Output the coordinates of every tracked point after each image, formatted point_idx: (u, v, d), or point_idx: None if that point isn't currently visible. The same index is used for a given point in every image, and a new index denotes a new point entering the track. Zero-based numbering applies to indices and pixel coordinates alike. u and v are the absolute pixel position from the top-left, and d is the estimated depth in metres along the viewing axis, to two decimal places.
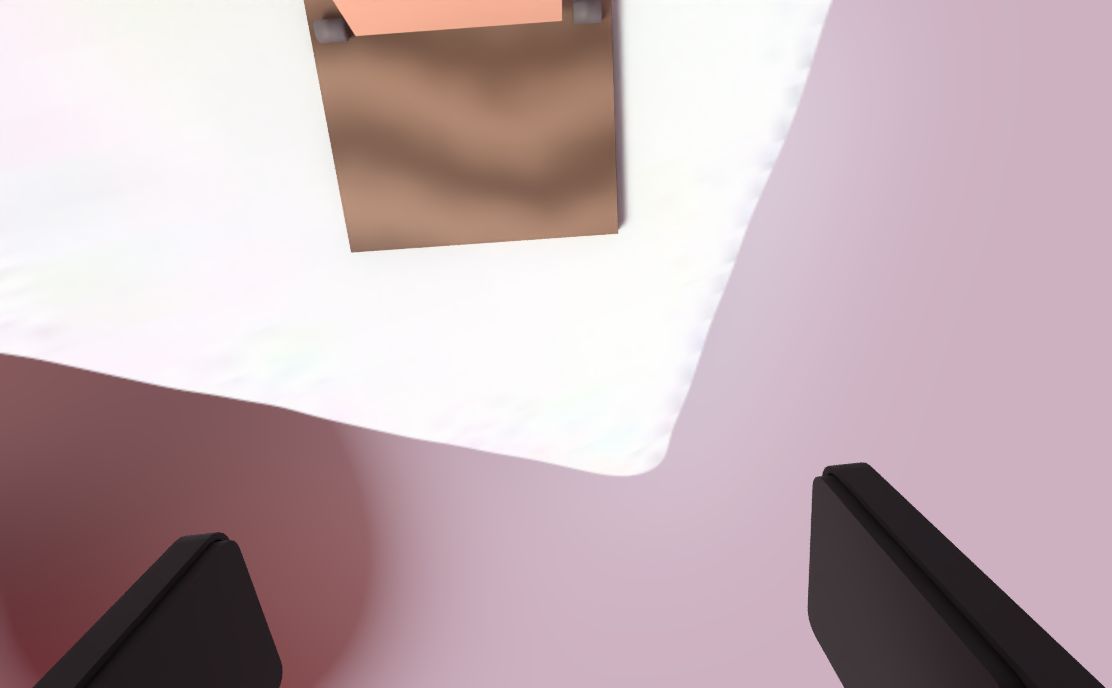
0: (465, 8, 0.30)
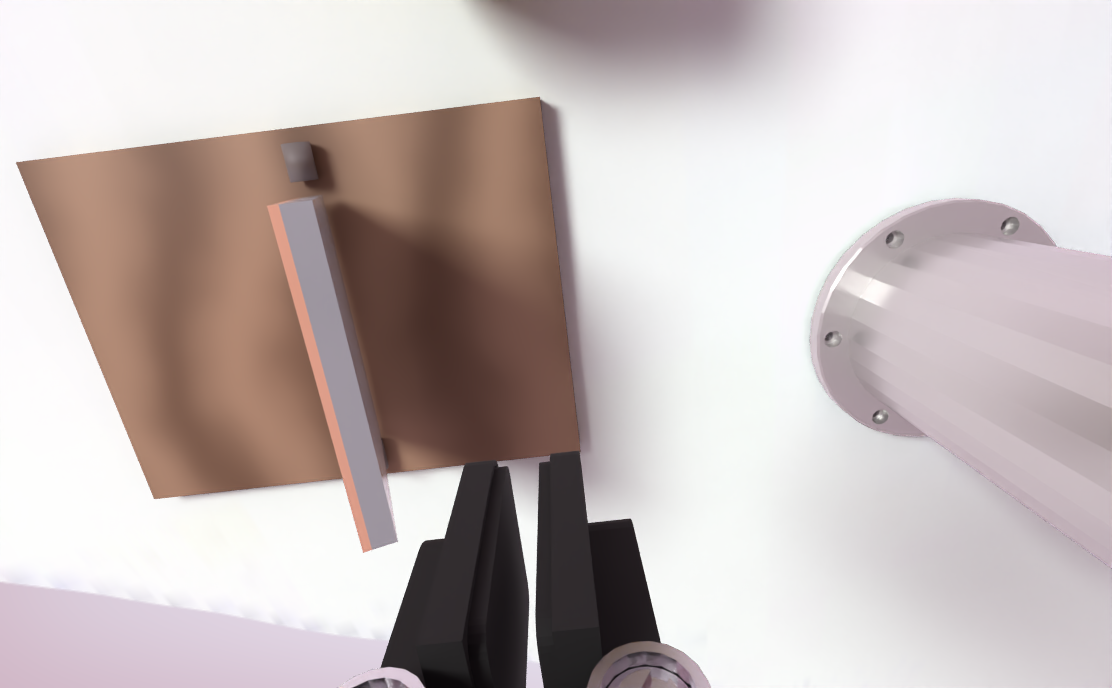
0: None
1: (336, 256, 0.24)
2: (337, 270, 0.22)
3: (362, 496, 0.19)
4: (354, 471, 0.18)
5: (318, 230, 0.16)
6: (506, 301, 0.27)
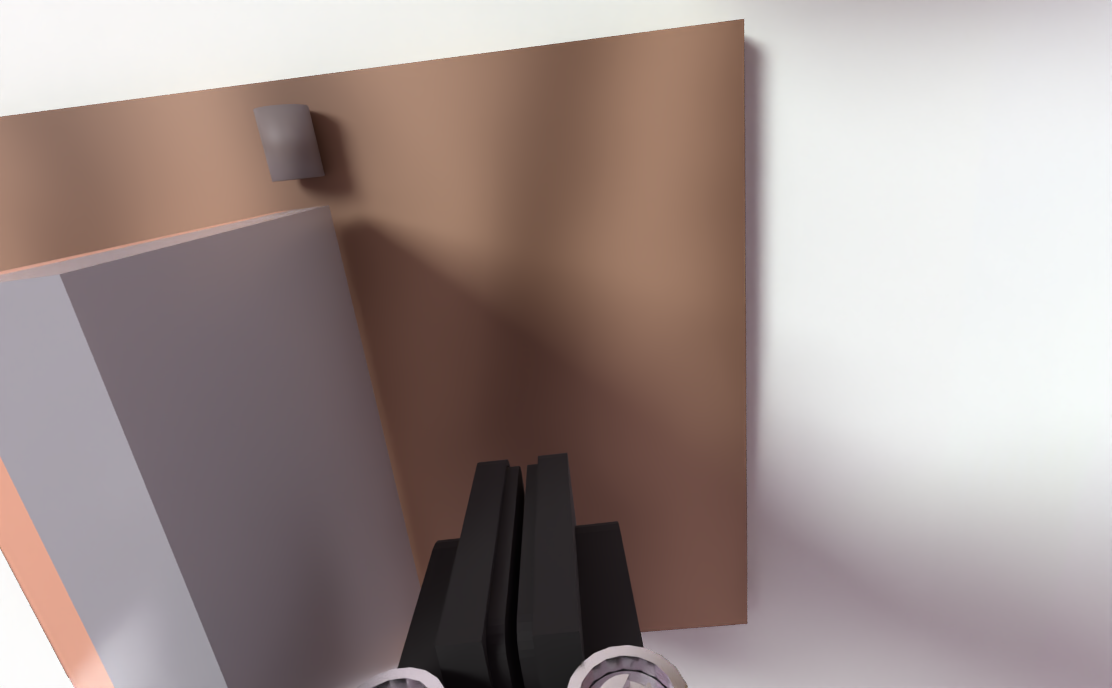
0: None
1: (345, 322, 0.13)
2: (324, 370, 0.10)
3: None
4: None
5: (99, 383, 0.04)
6: (646, 389, 0.16)
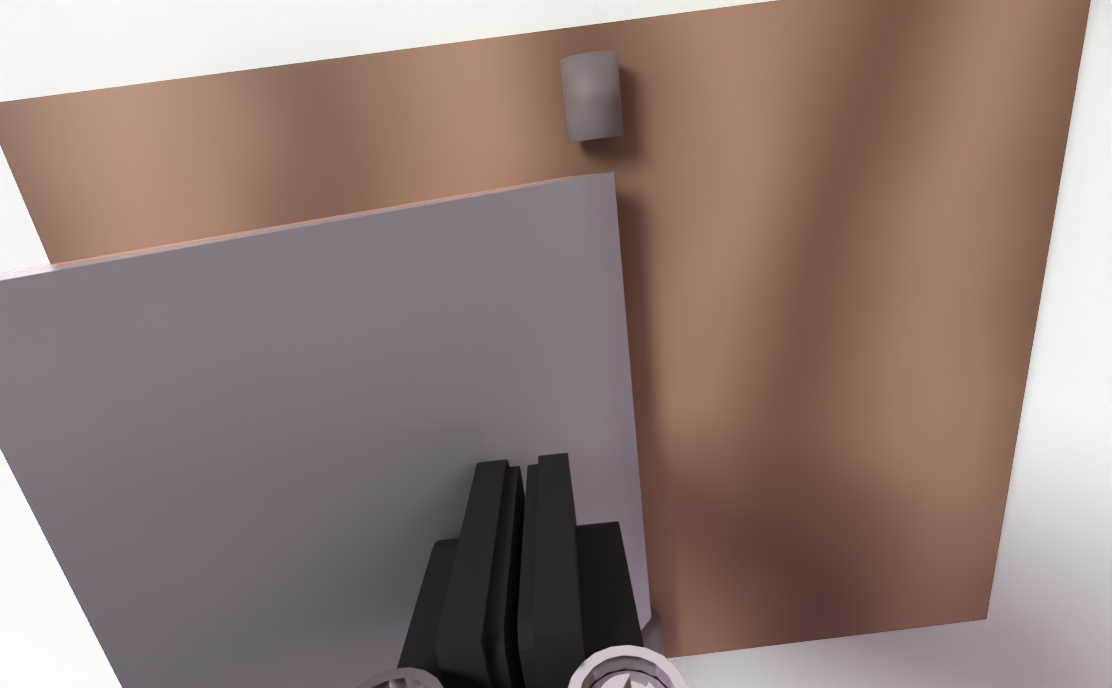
0: None
1: (589, 311, 0.11)
2: (495, 368, 0.10)
3: None
4: None
5: None
6: (924, 371, 0.14)
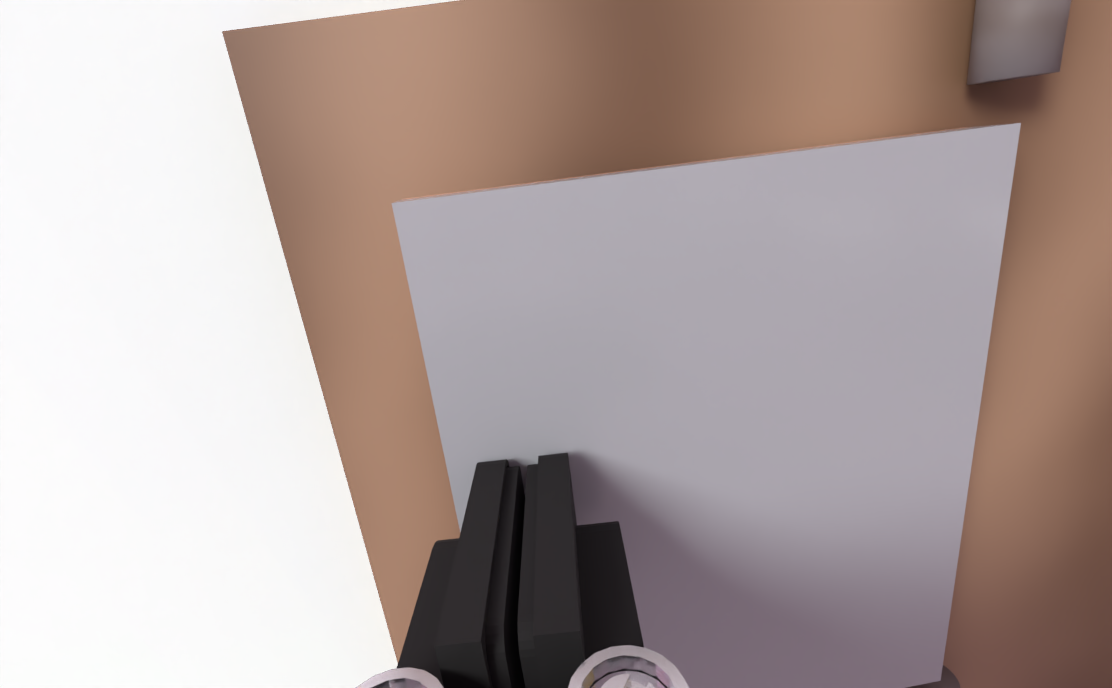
0: None
1: (927, 295, 0.09)
2: (774, 332, 0.09)
3: None
4: None
5: None
6: None
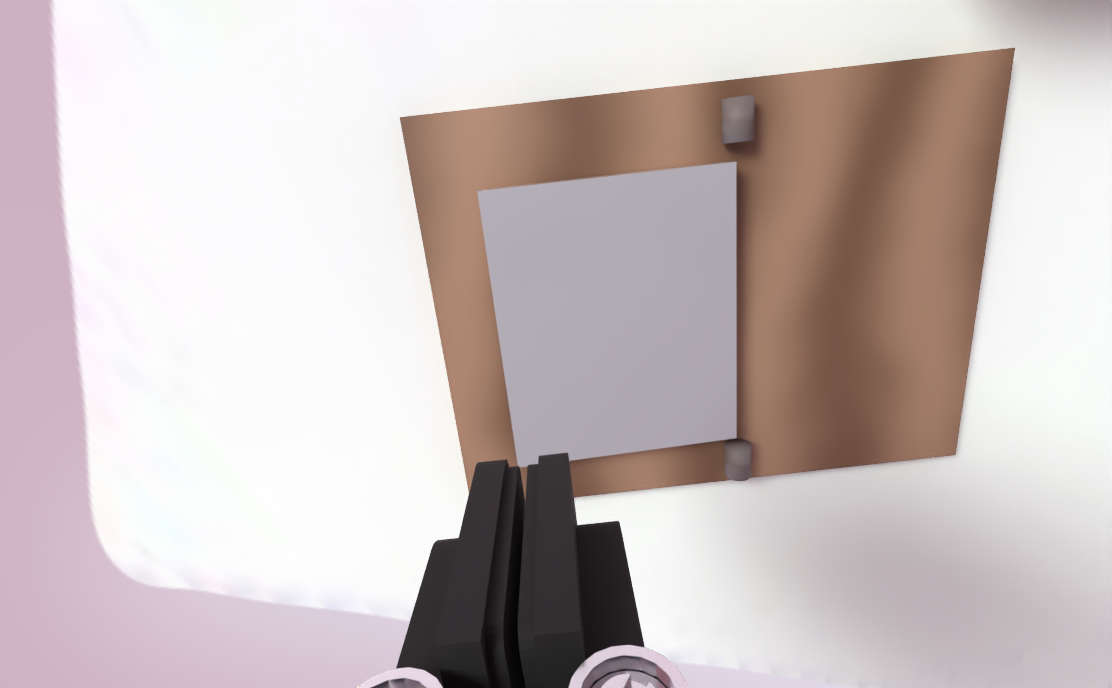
0: None
1: (704, 235, 0.22)
2: (636, 249, 0.22)
3: None
4: None
5: None
6: (917, 284, 0.24)
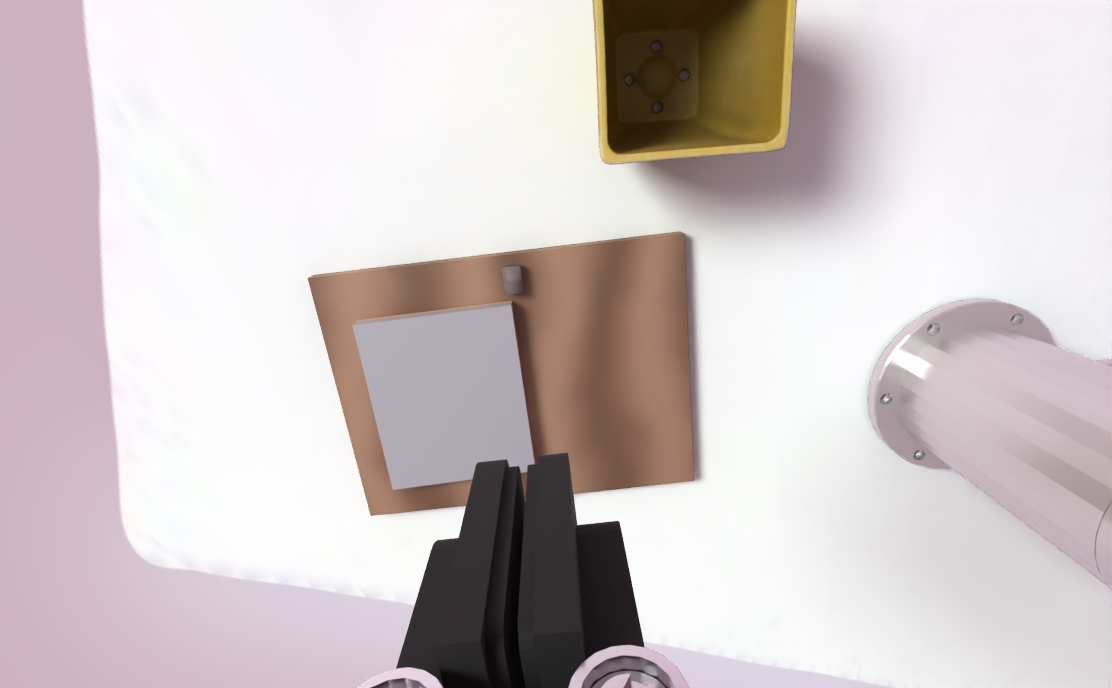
0: None
1: (496, 347, 0.35)
2: (454, 356, 0.35)
3: None
4: None
5: (355, 338, 0.34)
6: (648, 372, 0.37)
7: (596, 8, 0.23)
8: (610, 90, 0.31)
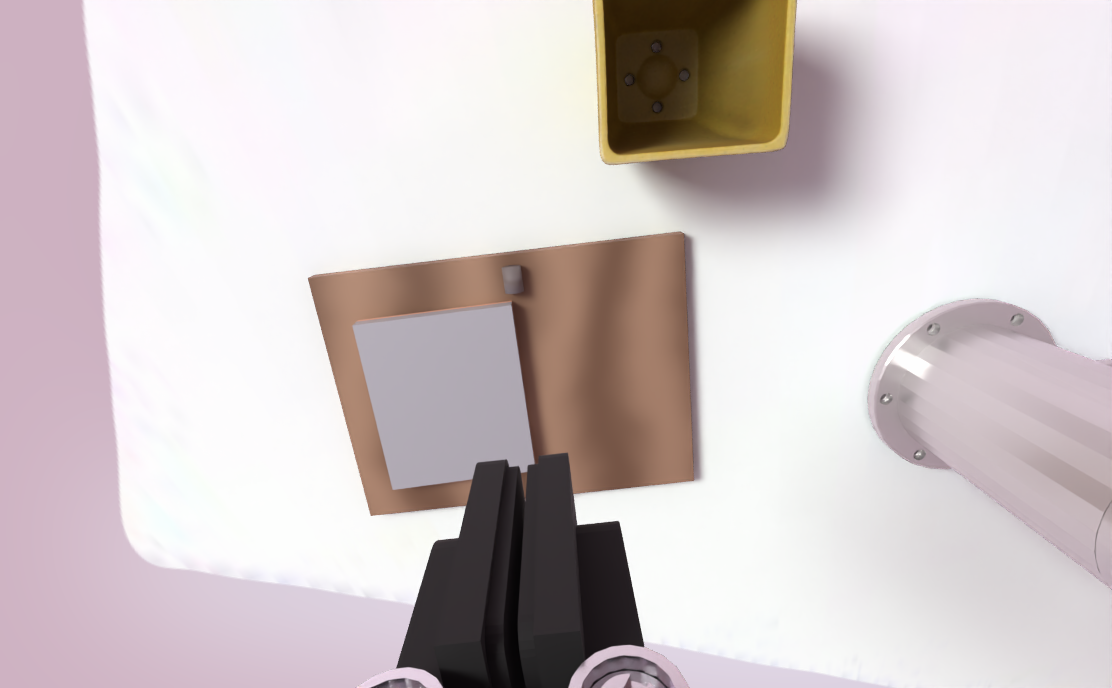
0: None
1: (497, 347, 0.35)
2: (454, 356, 0.35)
3: None
4: None
5: (355, 338, 0.34)
6: (648, 372, 0.37)
7: (596, 8, 0.23)
8: (610, 90, 0.31)
